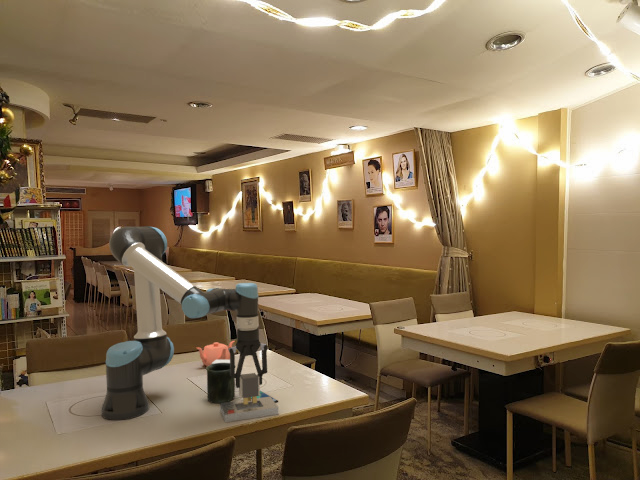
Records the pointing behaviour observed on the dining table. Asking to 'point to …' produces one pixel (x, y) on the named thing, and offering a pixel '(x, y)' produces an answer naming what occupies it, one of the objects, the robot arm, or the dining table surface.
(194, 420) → the dining table surface
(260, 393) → the smartphone
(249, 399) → the plug
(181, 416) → the dining table surface
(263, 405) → the socket
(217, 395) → the mug
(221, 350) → the teapot
